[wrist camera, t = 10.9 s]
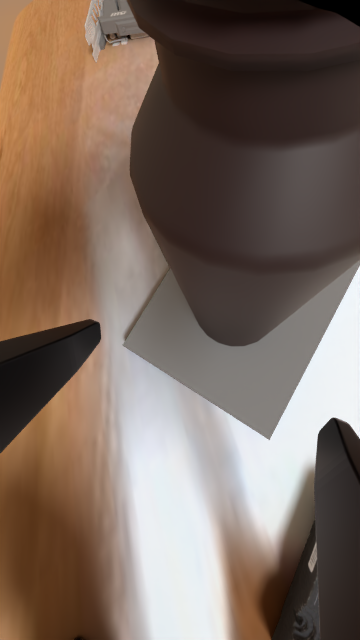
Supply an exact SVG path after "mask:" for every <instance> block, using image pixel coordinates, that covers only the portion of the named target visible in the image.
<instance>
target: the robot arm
mask: <svg viewBox="0 0 360 640" xmlns="http://www.w3.org/2000/svg"><path fill="white" fill-rule="evenodd" d="M100 340H101V330H100V324H99V322H97V321H94V320H92V319H88V320H84V321H80V322H76V323H72V324H68V325H64V326H60V327H56V328H52V329H48V330H44V331H40V332H36V333H32V334H28V335H24V336H20V337H16V338H12V339H8V340H4V341H0V453H1V452H2V451H3V450H4V449H5V448H6V447H7V446H8V445H9V444H10V443H11V441H12V440H13V439H14V438H15V437H16V436H17V435H18V434H19V433H20V432H21V431H22V430H23V429H24V428H25V427H26V425H27V424H28V423H29V422H30V421H31V420H32V419H33V418H34V417H35V416H36V415H37V414H38V413H39V412H40V411H41V409H42V408H43V407H44V406H45V405H46V404H47V403H48V402H49V401H50V400H51V399H52V398H53V397H54V396H55V395H56V393H57V392H58V391H59V390H60V389H61V388H62V387H63V386H64V385H65V384H66V383H67V382H68V381H69V380H70V379H71V377H72V376H73V375H74V374H75V373H76V372H77V371H78V370H79V368H80V367H81V366H82V365H83V363H84V362H85V361H86V359H87V358H88V357H89V356H90V354H91V353H92V352H93V350H94V349H95V348H96V346H97V345H98V344H99V342H100ZM314 495H315V521H316V547H317V573H318V599H319V625H320V640H360V439H359V437H358V436H357V434H356V433H355V432H354V430H353V429H352V427H351V426H350V425H349V424H348V423H347V422H345V421H342V420H340V419H337V418H331V419H330V420H329V421H328V422H327V423H326V424H325V426H324V427H323V428H322V429H321V430H320V432H319V434H318V441H317V453H316V466H315V480H314ZM74 640H82V639H81V638H78V637H77V638H75V639H74Z"/></svg>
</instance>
